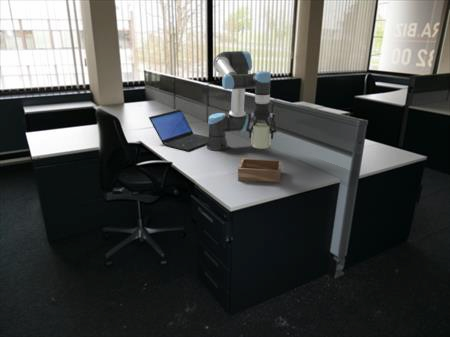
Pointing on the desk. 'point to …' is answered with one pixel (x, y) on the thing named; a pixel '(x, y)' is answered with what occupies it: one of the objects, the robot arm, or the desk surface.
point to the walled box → (259, 170)
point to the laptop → (176, 131)
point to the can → (261, 135)
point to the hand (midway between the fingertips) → (260, 144)
